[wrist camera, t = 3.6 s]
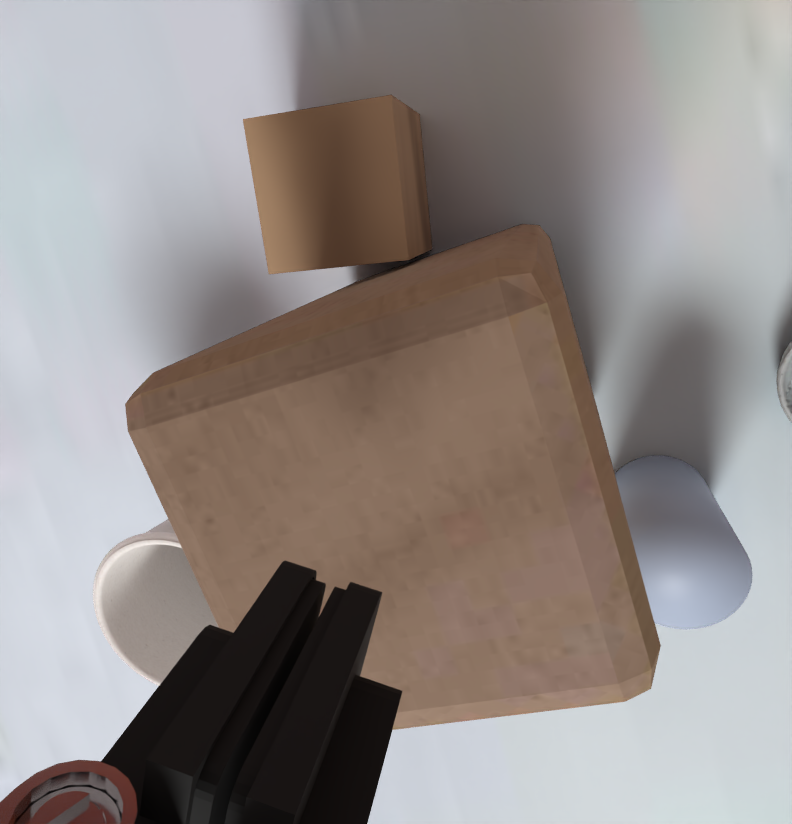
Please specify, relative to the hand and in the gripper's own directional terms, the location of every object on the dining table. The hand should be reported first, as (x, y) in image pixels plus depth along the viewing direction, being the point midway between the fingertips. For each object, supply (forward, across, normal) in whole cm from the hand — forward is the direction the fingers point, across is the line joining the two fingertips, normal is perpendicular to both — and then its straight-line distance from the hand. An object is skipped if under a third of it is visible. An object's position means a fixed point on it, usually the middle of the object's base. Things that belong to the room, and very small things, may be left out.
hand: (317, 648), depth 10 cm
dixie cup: (+24, +8, +13) cm, 28 cm away
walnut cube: (+24, +6, -6) cm, 25 cm away
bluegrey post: (+23, -12, +5) cm, 26 cm away
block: (+24, 0, 0) cm, 24 cm away
